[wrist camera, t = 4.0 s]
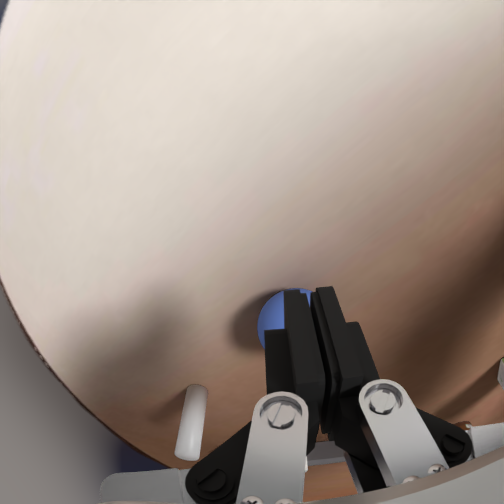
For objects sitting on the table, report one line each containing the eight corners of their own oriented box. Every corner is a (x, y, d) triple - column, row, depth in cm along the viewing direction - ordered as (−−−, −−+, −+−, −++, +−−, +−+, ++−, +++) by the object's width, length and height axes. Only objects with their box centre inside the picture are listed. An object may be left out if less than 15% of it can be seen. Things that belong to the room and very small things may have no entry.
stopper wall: (220, 445, 40) (219, 463, 37) (359, 436, 39) (362, 453, 36) (222, 451, 41) (221, 468, 38) (357, 442, 40) (360, 459, 37)
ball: (255, 275, 26) (254, 325, 21) (329, 271, 26) (345, 319, 20) (259, 331, 29) (259, 382, 23) (325, 326, 28) (337, 376, 23)
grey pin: (184, 384, 33) (171, 449, 25) (206, 384, 33) (196, 451, 25) (189, 396, 34) (178, 459, 27) (209, 397, 34) (201, 461, 26)
